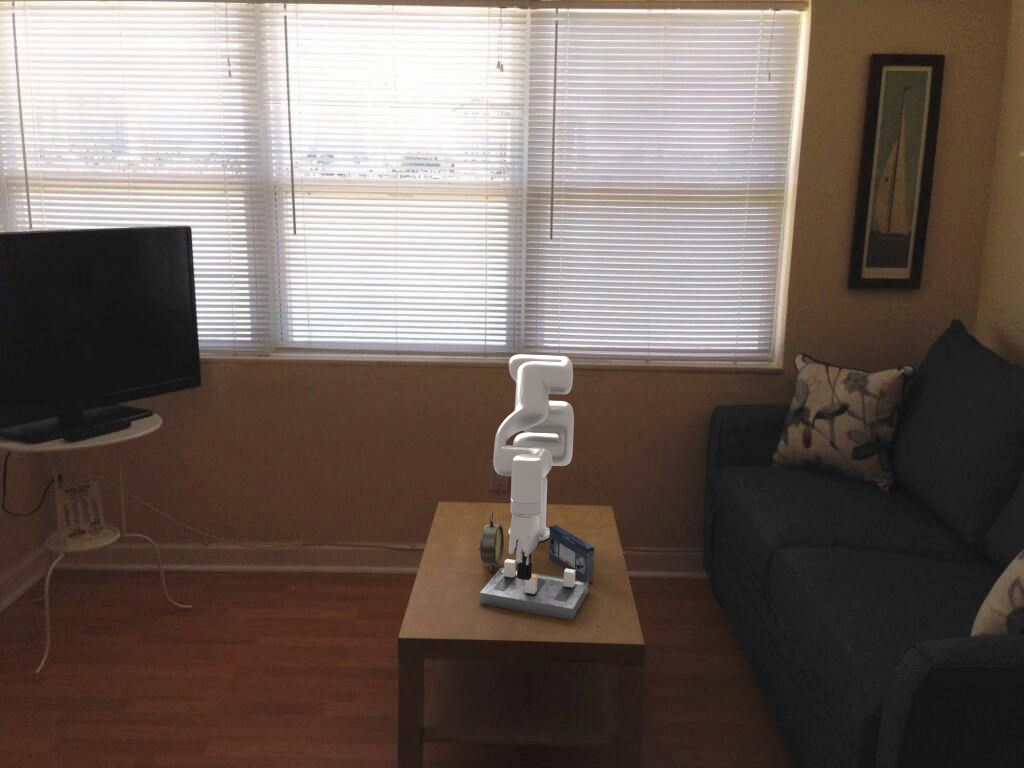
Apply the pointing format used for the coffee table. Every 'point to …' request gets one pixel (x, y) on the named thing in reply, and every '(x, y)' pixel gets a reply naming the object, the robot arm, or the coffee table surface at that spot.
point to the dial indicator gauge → (491, 544)
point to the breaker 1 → (509, 568)
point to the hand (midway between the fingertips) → (524, 578)
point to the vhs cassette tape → (571, 553)
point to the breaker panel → (535, 595)
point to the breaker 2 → (569, 578)
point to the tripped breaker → (531, 584)
